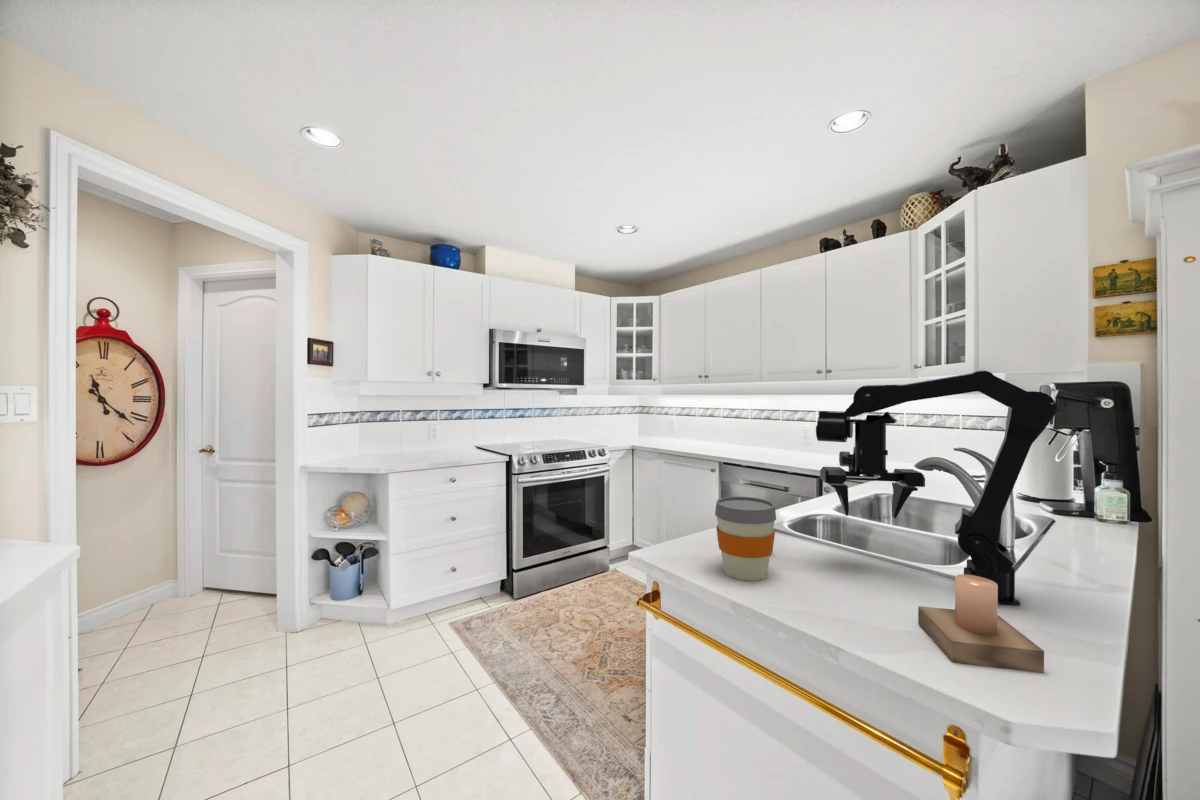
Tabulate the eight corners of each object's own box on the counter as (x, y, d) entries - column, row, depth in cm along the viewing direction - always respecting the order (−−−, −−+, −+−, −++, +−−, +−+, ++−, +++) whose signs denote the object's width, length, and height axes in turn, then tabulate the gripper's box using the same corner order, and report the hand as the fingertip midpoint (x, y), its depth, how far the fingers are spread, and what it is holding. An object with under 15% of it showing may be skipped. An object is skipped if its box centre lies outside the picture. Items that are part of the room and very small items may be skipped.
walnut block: (995, 631, 74) (995, 613, 74) (1043, 672, 63) (1044, 651, 63) (918, 623, 76) (918, 606, 76) (951, 661, 66) (952, 641, 66)
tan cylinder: (985, 620, 71) (985, 575, 71) (1005, 637, 67) (1005, 589, 66) (948, 616, 73) (948, 573, 72) (965, 633, 68) (965, 586, 68)
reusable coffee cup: (771, 563, 103) (771, 497, 103) (780, 586, 91) (780, 512, 91) (714, 559, 106) (714, 495, 106) (715, 581, 94) (715, 508, 94)
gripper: (904, 440, 103) (903, 509, 104) (814, 439, 108) (814, 505, 108) (926, 446, 93) (926, 523, 93) (826, 444, 97) (826, 517, 97)
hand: (870, 516), depth 98 cm, fingers open, 9 cm apart
